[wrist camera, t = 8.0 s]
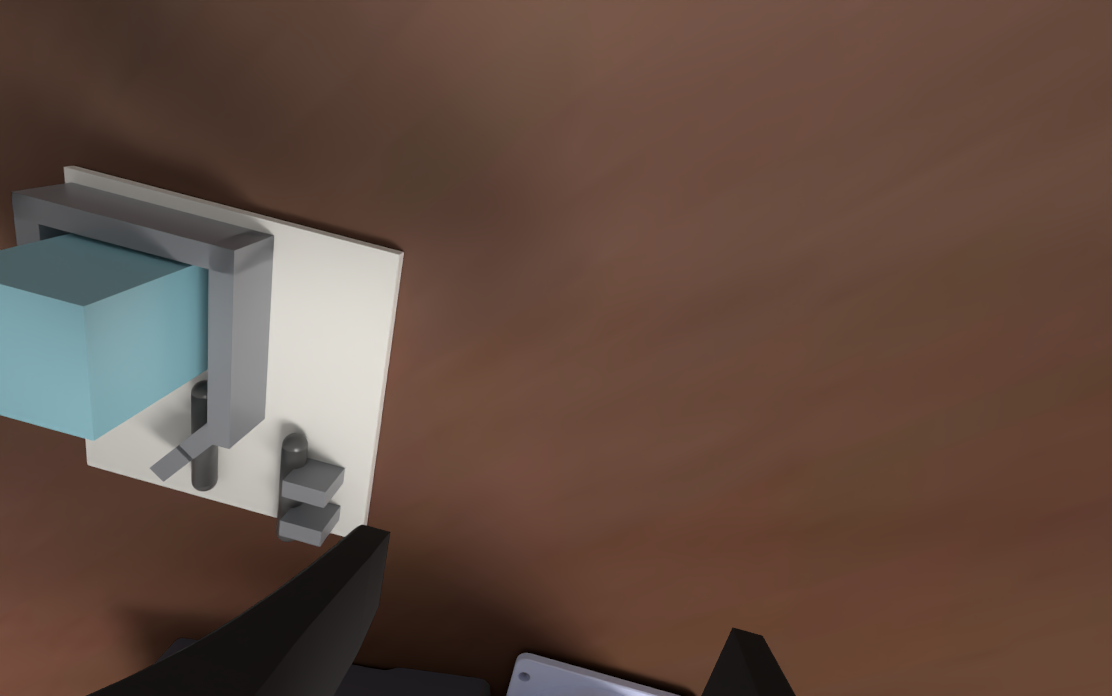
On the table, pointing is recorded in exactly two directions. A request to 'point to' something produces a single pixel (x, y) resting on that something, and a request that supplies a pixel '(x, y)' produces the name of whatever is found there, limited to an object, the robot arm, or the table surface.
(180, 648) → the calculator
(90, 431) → the pale blue cube
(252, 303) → the end holder
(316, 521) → the board
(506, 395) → the table surface
